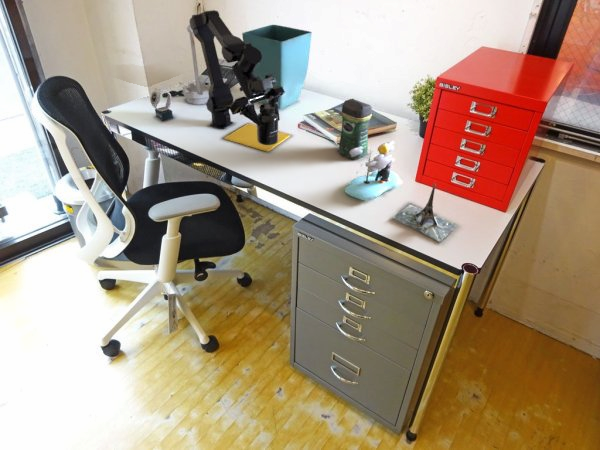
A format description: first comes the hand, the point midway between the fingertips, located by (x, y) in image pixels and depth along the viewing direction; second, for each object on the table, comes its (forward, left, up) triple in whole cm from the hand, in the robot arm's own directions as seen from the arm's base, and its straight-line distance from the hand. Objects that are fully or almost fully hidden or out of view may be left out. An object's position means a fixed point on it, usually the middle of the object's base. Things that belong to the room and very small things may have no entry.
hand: (270, 123), depth 140 cm
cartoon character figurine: (+36, +2, -13) cm, 39 cm away
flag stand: (-56, +28, -13) cm, 64 cm away
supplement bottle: (-1, 0, -7) cm, 7 cm away
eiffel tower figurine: (+55, -7, -13) cm, 57 cm away
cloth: (-14, +12, -13) cm, 22 cm away
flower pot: (-26, +44, -13) cm, 53 cm away
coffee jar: (+21, +19, -13) cm, 32 cm away
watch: (-55, +6, -13) cm, 57 cm away
